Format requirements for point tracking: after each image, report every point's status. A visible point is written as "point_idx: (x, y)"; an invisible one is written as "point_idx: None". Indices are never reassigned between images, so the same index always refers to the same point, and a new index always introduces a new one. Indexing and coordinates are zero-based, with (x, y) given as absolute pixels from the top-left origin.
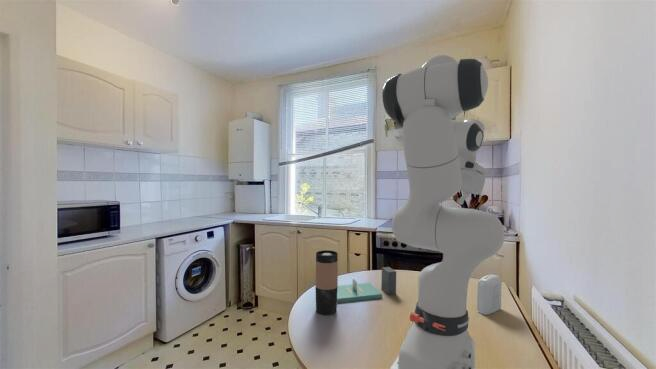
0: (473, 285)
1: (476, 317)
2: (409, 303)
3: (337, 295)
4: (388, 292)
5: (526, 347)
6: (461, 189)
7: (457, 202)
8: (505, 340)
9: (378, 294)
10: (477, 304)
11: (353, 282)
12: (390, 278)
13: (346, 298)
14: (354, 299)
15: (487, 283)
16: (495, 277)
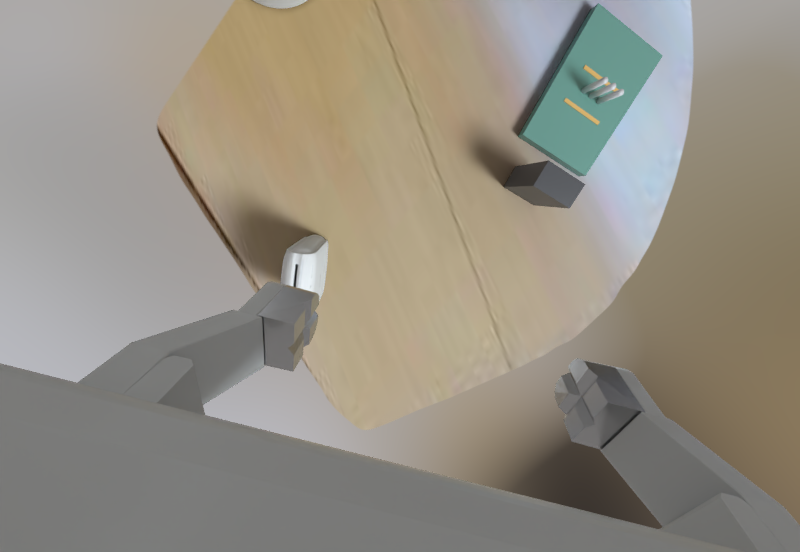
0: (393, 374)
1: (317, 210)
2: (453, 161)
3: (610, 22)
4: (517, 166)
5: (201, 153)
6: (138, 403)
7: (303, 289)
8: (236, 151)
9: (528, 124)
10: (325, 242)
11: (612, 92)
12: (533, 168)
13: (581, 31)
14: (564, 57)
15: (287, 252)
16: None
